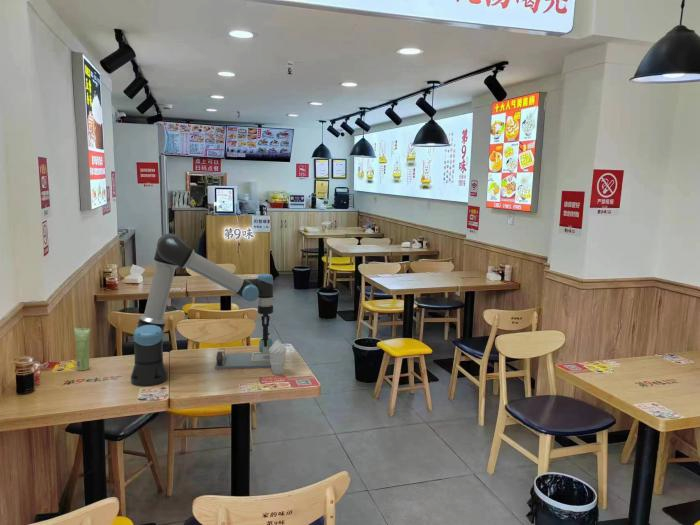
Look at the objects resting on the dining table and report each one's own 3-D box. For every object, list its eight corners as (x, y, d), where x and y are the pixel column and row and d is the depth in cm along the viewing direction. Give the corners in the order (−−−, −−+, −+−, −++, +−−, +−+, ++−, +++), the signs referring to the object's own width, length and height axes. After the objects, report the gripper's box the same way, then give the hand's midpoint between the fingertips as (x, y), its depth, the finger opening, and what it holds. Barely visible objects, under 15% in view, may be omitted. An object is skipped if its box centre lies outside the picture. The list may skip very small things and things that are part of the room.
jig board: (215, 369, 245) (215, 365, 244) (219, 355, 264) (219, 352, 264) (279, 367, 249) (279, 363, 249) (278, 354, 269) (278, 351, 268)
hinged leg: (222, 365, 246) (222, 353, 245) (216, 365, 245) (216, 353, 244) (224, 356, 260) (224, 344, 259) (218, 356, 259) (218, 344, 258)
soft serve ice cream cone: (284, 376, 237) (285, 343, 235) (266, 376, 237) (266, 342, 235) (287, 370, 245) (287, 338, 243) (269, 370, 245) (269, 337, 243)
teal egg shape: (259, 353, 256) (259, 342, 255) (259, 349, 262) (259, 338, 261) (272, 352, 257) (272, 341, 256) (272, 348, 263) (272, 338, 262)
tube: (89, 366, 244) (87, 326, 241) (92, 369, 240) (90, 328, 237) (75, 368, 240) (74, 327, 237) (78, 371, 236) (76, 330, 234)
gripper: (273, 309, 247) (273, 356, 250) (273, 300, 266) (273, 344, 269) (257, 309, 246) (257, 356, 249) (258, 301, 265) (258, 344, 268)
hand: (265, 350), depth 259 cm, fingers closed on teal egg shape, 6 cm apart
